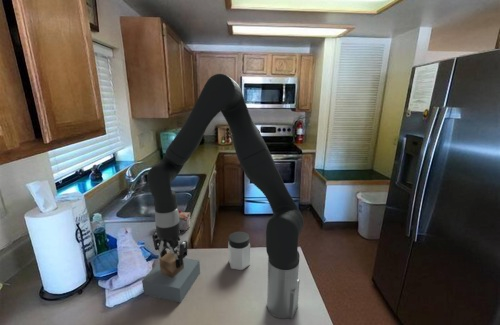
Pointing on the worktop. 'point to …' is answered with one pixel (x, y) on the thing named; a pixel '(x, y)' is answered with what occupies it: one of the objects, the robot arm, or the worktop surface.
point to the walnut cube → (169, 265)
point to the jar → (239, 250)
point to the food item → (184, 220)
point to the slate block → (171, 281)
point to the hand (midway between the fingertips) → (171, 263)
